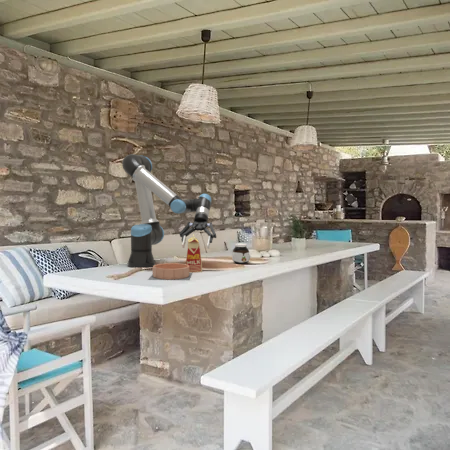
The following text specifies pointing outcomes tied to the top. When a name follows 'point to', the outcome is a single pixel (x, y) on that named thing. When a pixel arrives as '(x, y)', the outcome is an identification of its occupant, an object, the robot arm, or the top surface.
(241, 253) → the spread jar
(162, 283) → the top surface
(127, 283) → the top surface
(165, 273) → the bowl
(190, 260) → the milk carton
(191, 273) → the placemat
